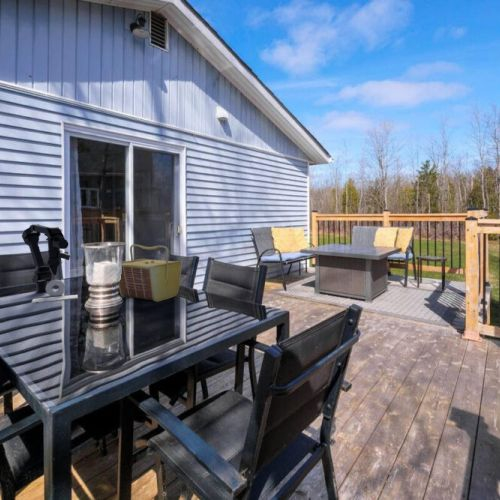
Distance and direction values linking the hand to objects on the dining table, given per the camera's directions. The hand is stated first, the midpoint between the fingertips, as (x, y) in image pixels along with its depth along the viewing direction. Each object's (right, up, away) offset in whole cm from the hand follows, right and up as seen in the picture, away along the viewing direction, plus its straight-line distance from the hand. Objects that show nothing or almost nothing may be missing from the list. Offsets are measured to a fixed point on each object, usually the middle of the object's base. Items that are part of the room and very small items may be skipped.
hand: (55, 274), depth 199 cm
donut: (+3, -13, -4) cm, 14 cm away
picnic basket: (+57, -13, -5) cm, 59 cm away
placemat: (+6, -13, -10) cm, 18 cm away
